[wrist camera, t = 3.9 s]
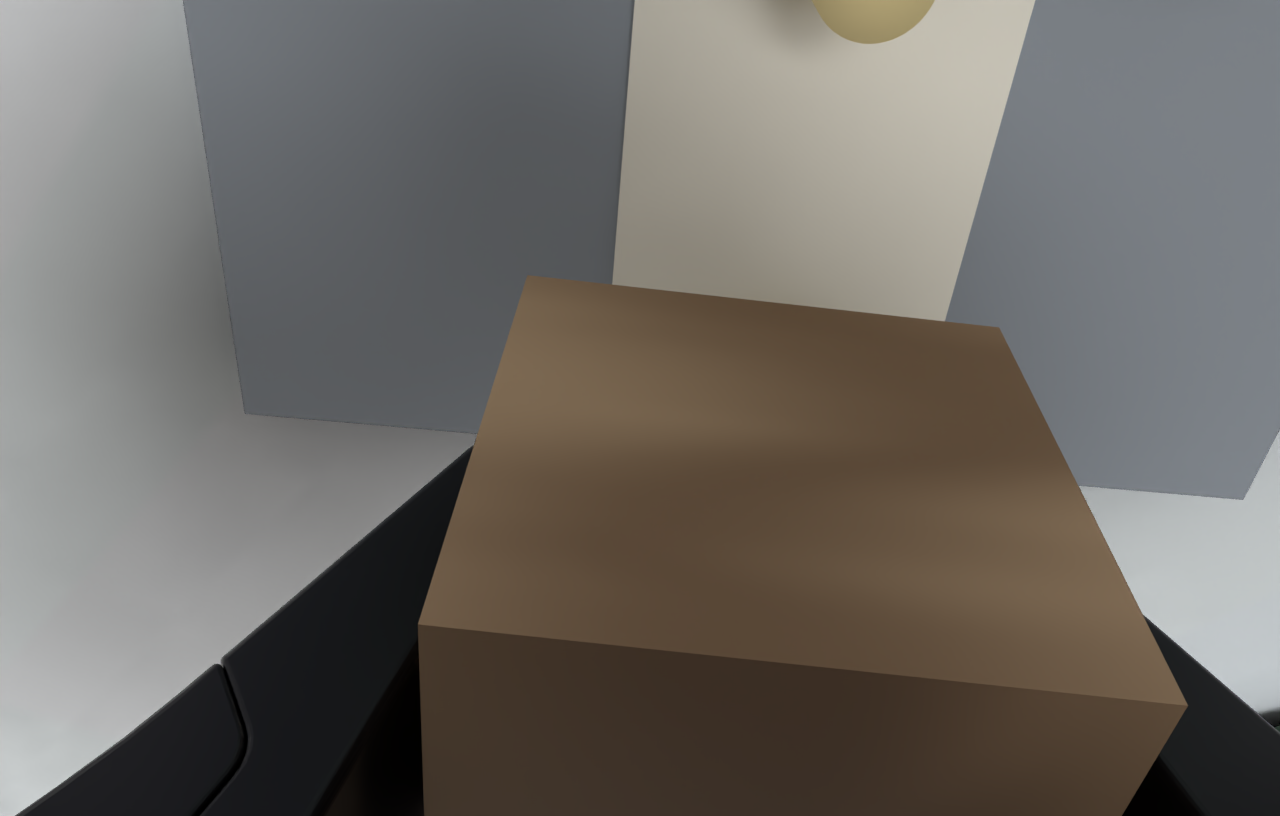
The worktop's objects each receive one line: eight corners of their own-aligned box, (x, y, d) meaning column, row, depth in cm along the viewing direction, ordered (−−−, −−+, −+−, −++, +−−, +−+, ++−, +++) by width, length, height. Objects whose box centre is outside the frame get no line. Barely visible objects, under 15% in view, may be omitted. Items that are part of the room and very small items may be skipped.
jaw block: (999, 327, 9) (1188, 705, 5) (888, 654, 11) (972, 1064, 8) (527, 275, 9) (417, 624, 5) (514, 614, 11) (430, 1010, 7)
